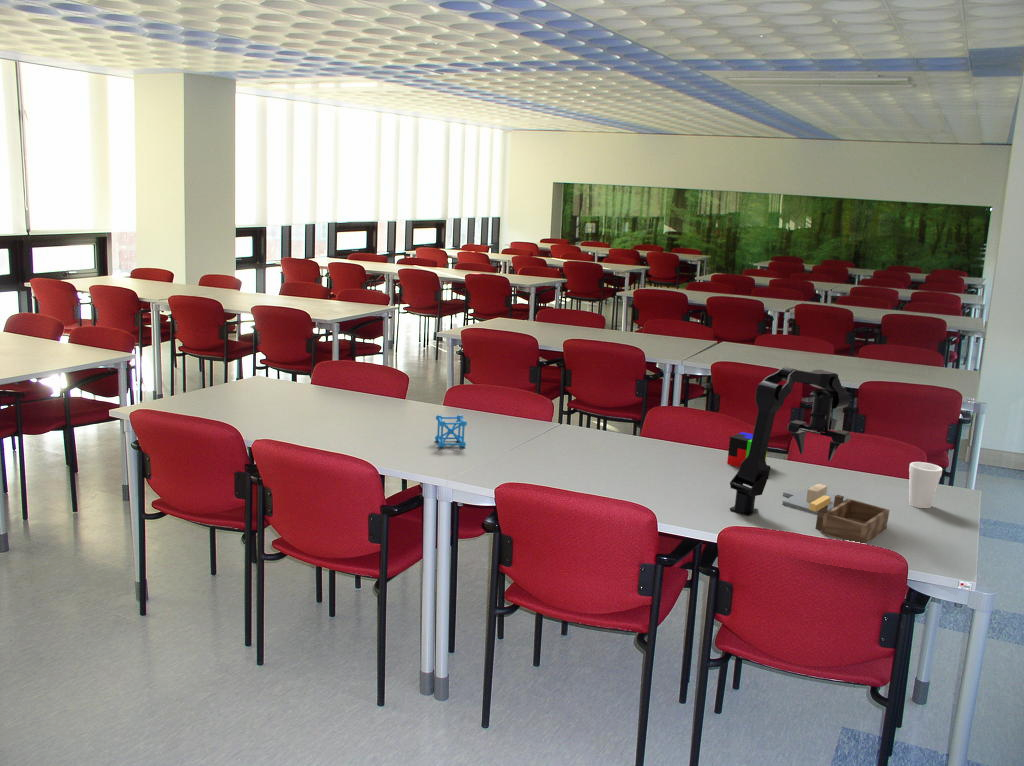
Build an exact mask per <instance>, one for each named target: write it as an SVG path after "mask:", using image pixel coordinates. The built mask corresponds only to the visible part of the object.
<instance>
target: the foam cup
mask: <svg viewBox="0 0 1024 766" xmlns="http://www.w3.org/2000/svg"><path fill="white" fill-rule="evenodd" d="M908 471H909V473H908V474H909V479H908V481H909V485H908V489H909V490H908V501H909V502H908V504H909V505H910V506H911V505H912V507H913V506H914V508H916V507H917V508H918V509H921V508H929V509H931V507H932V505H933V501H934V498H935V495H936V492H937V489H938V487H939V483H940V479H941V477H942V475H943V468H942V467H941V466H939V465H938V464H934V463H931V462H922V461H913V462H910V463H909V468H908ZM917 508H916V509H917Z"/></svg>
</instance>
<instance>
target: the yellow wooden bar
mask: <svg viewBox="0 0 1024 766" xmlns="http://www.w3.org/2000/svg"><path fill="white" fill-rule="evenodd" d="M830 499H831V497H829V496H825V495H824V496H822V497H820V498H818V499H816V500H815V501H813V502H811V503H810V506H809V510H812V511H815V512H816V511H818V510H820V509H821V508H823V507H825V506H827V505H828V504H830Z"/></svg>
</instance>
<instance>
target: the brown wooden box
mask: <svg viewBox="0 0 1024 766" xmlns="http://www.w3.org/2000/svg"><path fill="white" fill-rule="evenodd" d="M835 495H836V496H835V500H834V507H833V509H831V510H829V511H828V512H827V508H828V505H827V506H825V507H823V508H821V509H820V510H818V514H816V522H815V523H816V524H815V529H816V530H819V531H821V532H820V534H822V535H825V536H829V537H832V538H835V539H838V540H841V539H842V541H844V540H849V541H855V542H860V543H866V544H868V543H869V542H871V541H872V540H873V539H875V538H876V537H877V536H879V535H880V534H882V533H883V532H884V531H886V530H887V528H888V522H889V516H890V509H889V508H888V509H887V508H886V507H885V508H884V507H880V506H876V505H873V504H870V503H866V502H862V501H860V500H859V501H858V500H854V499H851V498H848V500H846V501H845V502H843V498H844V497H845V496H844V495H841V494H835Z"/></svg>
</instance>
